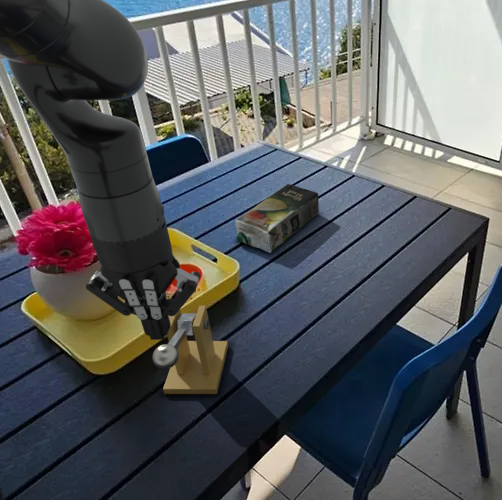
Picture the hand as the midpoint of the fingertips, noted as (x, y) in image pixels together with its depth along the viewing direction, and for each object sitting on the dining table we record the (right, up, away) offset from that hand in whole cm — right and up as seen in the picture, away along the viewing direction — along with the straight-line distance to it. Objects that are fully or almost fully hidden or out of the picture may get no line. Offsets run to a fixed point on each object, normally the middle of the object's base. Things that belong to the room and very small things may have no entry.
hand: (159, 334), depth 63 cm
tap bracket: (-1, -9, +18) cm, 20 cm away
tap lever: (0, -3, +7) cm, 8 cm away
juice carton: (+8, +16, +52) cm, 55 cm away
